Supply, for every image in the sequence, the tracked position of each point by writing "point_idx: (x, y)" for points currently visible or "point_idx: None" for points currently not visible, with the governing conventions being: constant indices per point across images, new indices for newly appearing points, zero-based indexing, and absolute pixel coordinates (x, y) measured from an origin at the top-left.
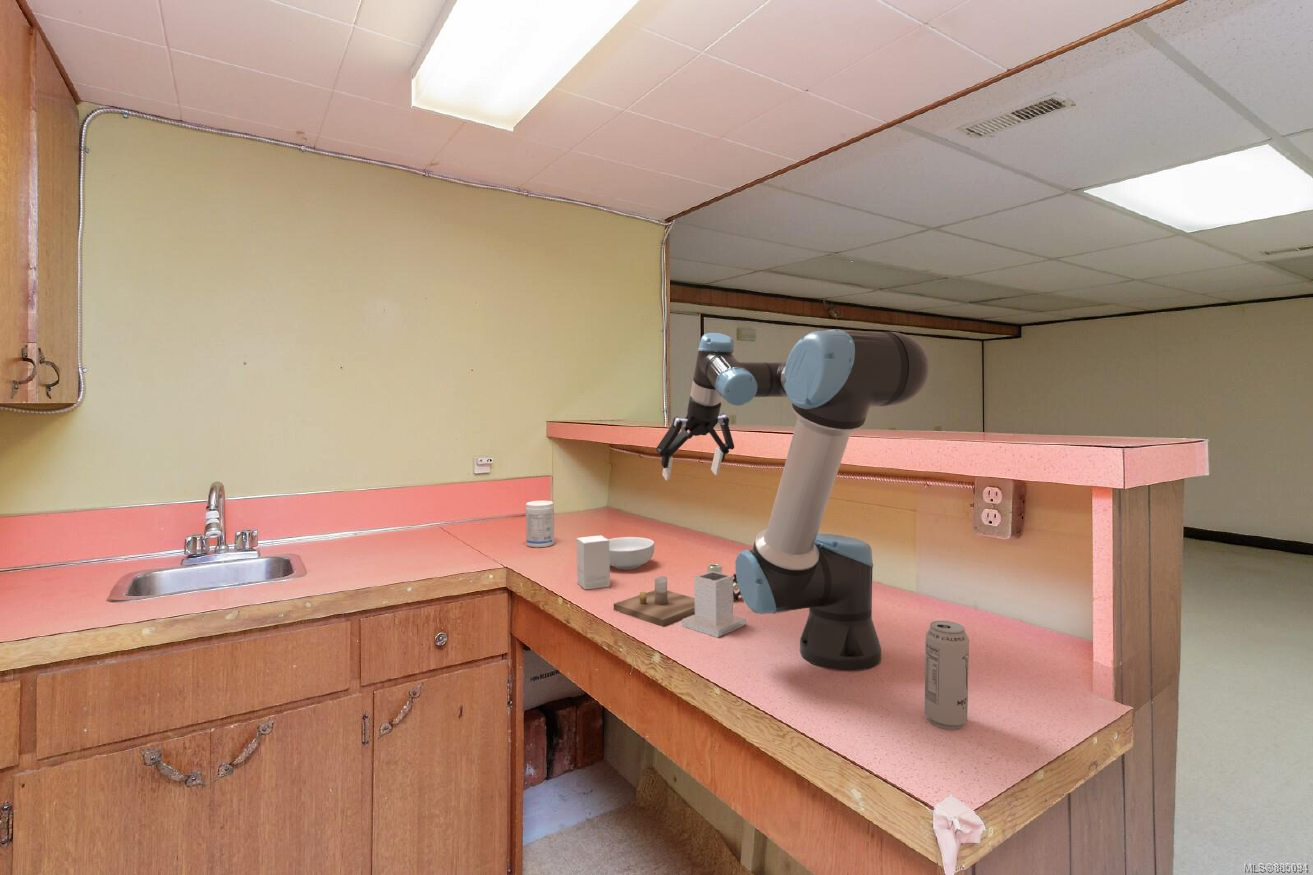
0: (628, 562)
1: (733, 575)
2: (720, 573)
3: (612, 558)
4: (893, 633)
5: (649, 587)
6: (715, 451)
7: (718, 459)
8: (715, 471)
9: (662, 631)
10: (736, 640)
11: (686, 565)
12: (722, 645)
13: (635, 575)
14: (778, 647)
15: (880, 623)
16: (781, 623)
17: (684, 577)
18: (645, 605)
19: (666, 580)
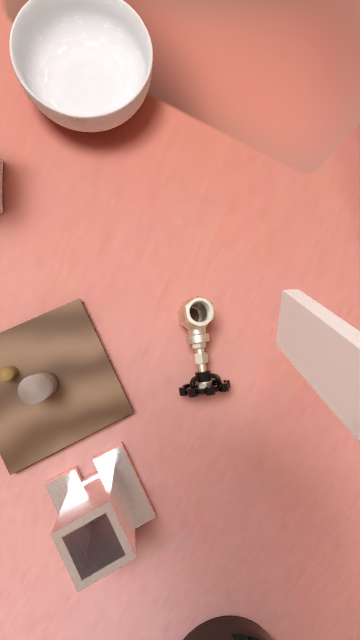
0: (69, 128)
1: (205, 388)
2: (119, 528)
3: (33, 103)
4: (345, 619)
5: (78, 250)
6: (355, 356)
7: (325, 393)
8: (284, 343)
9: (4, 493)
10: None
11: (207, 146)
12: (73, 587)
13: (81, 163)
14: (154, 622)
15: (353, 574)
16: (212, 524)
17: (169, 220)
18: (10, 386)
19: (42, 400)
